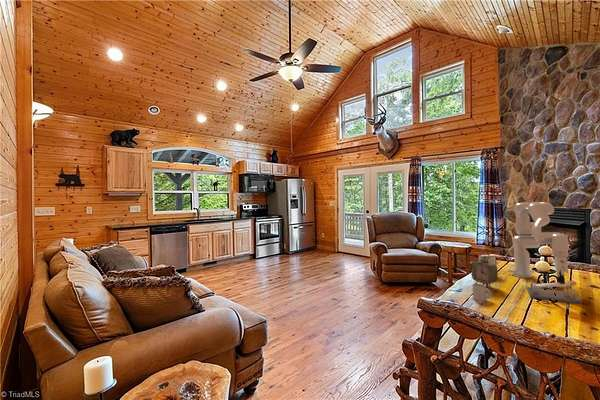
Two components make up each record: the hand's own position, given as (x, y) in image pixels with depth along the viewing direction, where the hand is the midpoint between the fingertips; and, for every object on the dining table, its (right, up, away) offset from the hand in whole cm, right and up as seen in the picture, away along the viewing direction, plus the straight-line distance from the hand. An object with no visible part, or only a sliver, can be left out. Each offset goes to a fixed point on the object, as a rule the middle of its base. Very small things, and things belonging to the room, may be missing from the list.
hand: (561, 282), depth 179 cm
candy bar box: (-12, -9, +51) cm, 54 cm away
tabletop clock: (-31, -11, +26) cm, 42 cm away
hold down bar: (-3, -3, +2) cm, 4 cm away
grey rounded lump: (-48, -12, +3) cm, 49 cm away
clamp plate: (-3, -10, +3) cm, 10 cm away
